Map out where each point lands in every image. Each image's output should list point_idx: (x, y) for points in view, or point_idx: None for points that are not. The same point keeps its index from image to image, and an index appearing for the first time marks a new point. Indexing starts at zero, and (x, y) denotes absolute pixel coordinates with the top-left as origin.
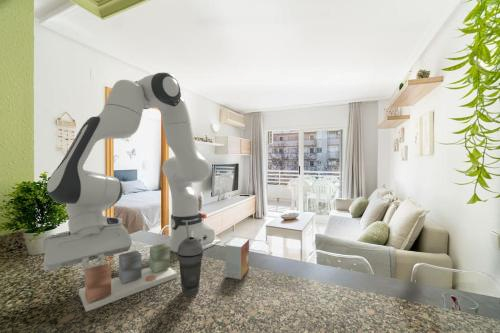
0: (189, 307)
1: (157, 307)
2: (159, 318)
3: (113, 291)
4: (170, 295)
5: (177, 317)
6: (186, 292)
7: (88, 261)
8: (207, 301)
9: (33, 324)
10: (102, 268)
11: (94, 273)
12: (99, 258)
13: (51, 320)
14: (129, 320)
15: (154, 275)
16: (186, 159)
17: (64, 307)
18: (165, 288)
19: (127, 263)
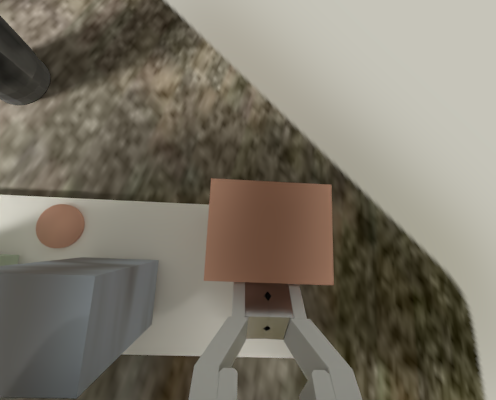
0: (80, 24)
1: (139, 84)
2: (160, 42)
3: (205, 235)
4: (77, 109)
5: (127, 15)
6: (37, 58)
7: (308, 379)
8: (27, 9)
9: (407, 254)
10: (248, 216)
11: (298, 183)
12: (233, 370)
13: (370, 238)
14: (216, 88)
15: (34, 243)
16: None
17: (337, 288)
18: (61, 157)
19: (90, 269)
